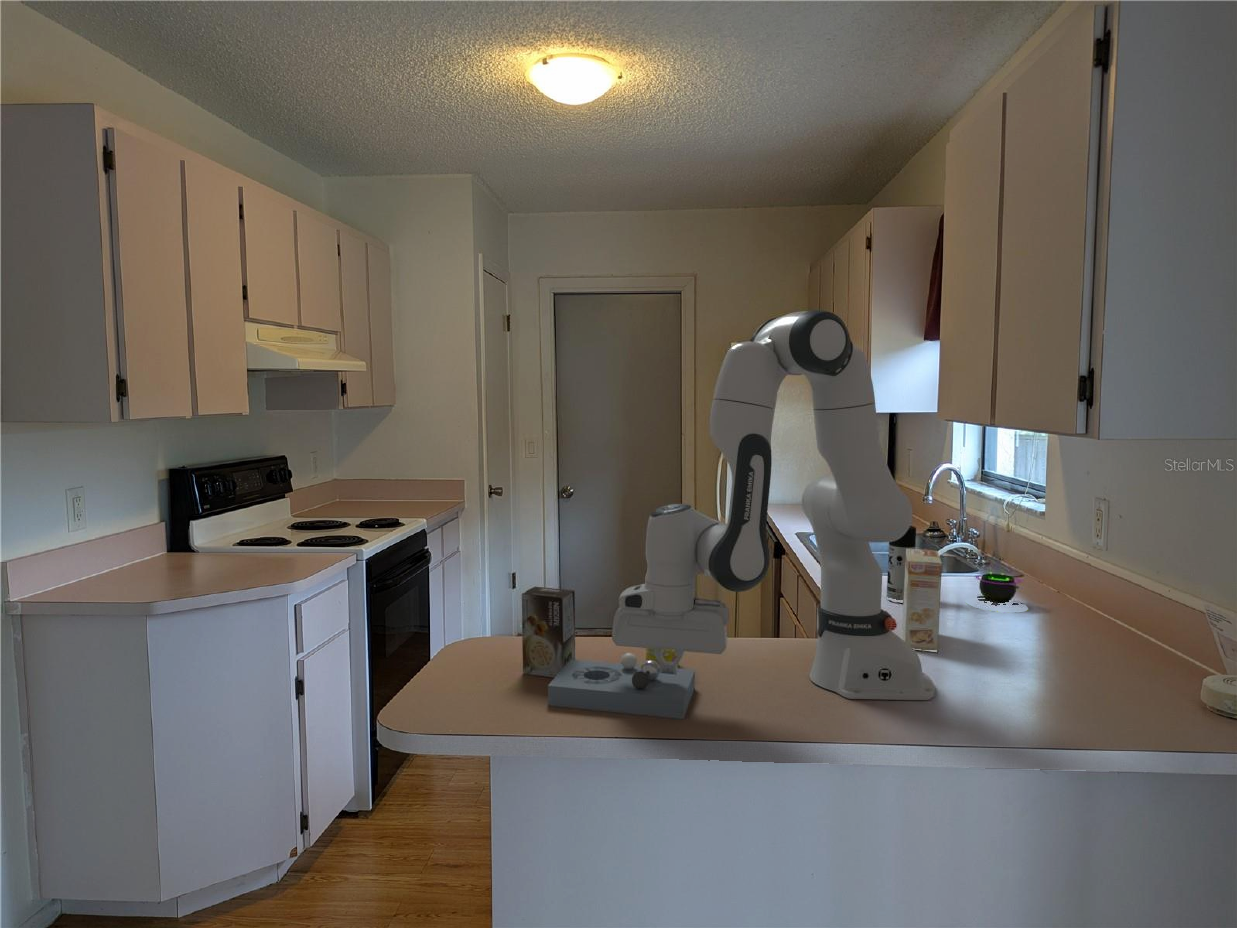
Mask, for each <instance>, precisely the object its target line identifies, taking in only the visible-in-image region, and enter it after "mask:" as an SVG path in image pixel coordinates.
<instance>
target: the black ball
mask: <svg viewBox="0 0 1237 928" xmlns="http://www.w3.org/2000/svg"><path fill="white" fill-rule="evenodd" d="M632 684H633V686H634V687H635V688H637V689H644V688H646V687H647V686H648V684H649V677H648V675H647V674H646V673H644V672H642V671H639V672H636V673H635V674H634V675H633V677H632Z"/></svg>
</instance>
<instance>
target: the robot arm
mask: <svg viewBox="0 0 1237 928" xmlns="http://www.w3.org/2000/svg"><path fill="white" fill-rule="evenodd" d="M803 375H804V377H805V378H806V379H807V381H808V383H809V385H810V389H811V393H812V395H811V396H812V397H811V398H812V408H813V420H814V421H813V422H814V429H815V438H816V447H817V449H818V452H819V455H820V456H821V457H822V458H823V459H824V460H825V462H826V463H827V465H828V467H829V470H830V472H831V474H832V475H831V474H830V475H825V476H820V477H816V478H814V479H813V480H811V481H810V482H809V483H808V484H806V487H805V488H804V489H803V492H802V495H801V509H802V510H803V513H804V514H805V516H806V517H807V519H808V521H809V524H810V526H811V528H812V531H813V535H814V538H815V542H816V548H817V551H818V555H819V557H818V558H819V562H820V565H819V566H820V603H819V604H818V606H817V612H816V613H817V614H816V633H817V635H818V637H817V644H816V650H815V655H814V660H813V662H812V666H811V669H810V673H809V679H810V681H812V682H813V684H815V685H817V686H819V687H821V688H823V689H826V690H829V691H832V692H834V693H837V694H839V695H840V696H842V697H844V698H846V699H850V700H851V699H852V700H893V701H894V700H895V701H896V700H897V701H901V700H902V701H930V700H932V699H933V698H934V696H935V694H936V691H935V690H936V688H935V683H934V681H933V680H932V678H931V677H930V676H928V674H926V673H925V672H923V667H922V663H921V660H920V657H919V655H918V653H917V652H916V650H914V649H913V648H912V647H911V646H910V645H908V644H907V643H906V642H905V641H903V638H901V637H900V636H898V635H897V634H896V633H895V632H894V631H895V630H896V629H897V627H898V625H897V623H898V622H897V621H896V619H895V618H894V617H892V615H891V614H890V613H889V612H888V611H887V610H886V609H885V610H883V609H882V594H883V593H882V592H883V591H882V590H883V589H882V588H883V571H882V568H881V566H880V563H879V562H878V560H877V559H876V558H875V556H874V553H873V551H872V548H871V546H870V543H879V544H880V543H882V544H883V543H889V542H893V541H896V540H898V539H900V538H901V537H902V536H903V535H904V534H905V533H906V532H907V531H908V529H909V527H910V526H912V525H911V524H912V521H913V517H914V516H913V515H914V513H913V506H912V503H911V500H910V499H909V497H908V496H907V495H906V494H905V493H904V491H902V490H901V489H900V487H899V486H898V484H897V482H896V481H895V479H894V477H893V475H892V473H891V470H890V468H889V466H888V463H887V461H886V458H885V455H884V453H883V449H882V446H881V440H880V434H879V425H878V424H879V423H878V417H877V415H878V414H877V409H876V408H877V407H876V398H875V391H874V390H875V389H874V385H873V384H874V383H873V380H872V374H871V370H870V366H869V363H868V360H867V357H866V355H865V353H864V351H863V350H861V349H860V348H859V347H856V346H854V344H853V342H852V340H851V337H850V332H849V330H848V328H847V325H846V324H845V321H843V319H842V318H841V317H839V316H838V315H837V314H835V313H834V312H831V311H828V310H823V309H811V310H807V311H806V310H805V311H794V312H790V313H788V314H785V315H783V316H779V317H773V318H771V319H769V320H767V321H764V322H763V323H762V324H761V325H759V326H758V328H757V329H756V330H755V331H754V333H753V335H752V337H750V339H749V341H742V342H739V343H736V344H734V345H733V346H731V347H730V348H729V349H728V351H727V352H726V354H725V357H724V359H723V361H722V364H721V366H720V370H719V373H718V376H717V379H716V383H715V388H714V392H713V397H712V401H711V406H710V407H711V408H710V414H709V416H710V417H709V434H710V437H711V440H712V442H713V443H714V445H715V446H716V447H717V449H718V450H719V451H720V452H721V453H722V455H723V456H724V458H725V460H726V461H727V463H728V466H729V469H730V472H731V490H730V499H729V500H730V501H729V509H728V515H727V516H728V518H727V523H726V522H723V521H720V520H717V519H715V518H711V517H710V516H708V515H705V514H703V513H701V512H699V511H698V510H697V509H695V508H694V507H693V506H692V505H690V504H688V503H671V504H666V505H662V506H659V507H657V508H656V509H654V510H653V511H652V512H651V513H650V515H649V518H648V521H647V527H646V533H645V534H646V537H645V559H646V563H647V571H646V574H645V576H644V577H645V578H644V582H645V583H641V584H638V585H637V584H636V585H633V586H630V587H628V588H626V589H625V590H623V591H622V592H621V594H620V595H619V598H618V605H619V607H618V609H617V610H616V611H615V613H614V617H613V621H612V622H613V623H612V630H611V631H612V633H611V640H612V642H613V643H614V644H615V646H617V647H629V648H630V647H631V648H640V649H646V648H651V649H654V656H655V657H656V659H657V661H658V663H659V664H660V673H664V674H675V675H676V674H677V668H679V664H678V663H680V662H681V660H682V658H683V656H684V655H685V654H684V653H685V652H687V653H688V652H690V653H702V654H712V655H713V654H714V655H721V654H723V653H724V652H725V651H726V649H727V646H728V636H727V635H728V634H727V624H728V623H729V621H730V609H729V607H728V605H727V604H726V603H724V602H722V601H721V600H720V599H707V598H697V597H696V578H697V575H703V574H704V575H706V576H709V577H711V579H713V580H714V581H716V582H717V583H718V584H719V585H720V586H721V587H723V588H724V589H726V590H727V591H730V592H735V593H741V592H747V591H750V590H751V589H753V588H755V587H756V586H757V585H759V584H760V583H761V581H763V579H764V578H765V577H766V575H767V572H768V570H769V567H770V563H771V562H770V561H771V554H770V548H769V545H768V540H767V539H768V537H767V522H768V521H767V520H768V519H767V518H768V509H769V499H770V490H771V489H770V488H771V477H772V464H773V463H772V461H773V459H772V458H773V457H772V432H773V424H774V418H775V411H776V405H777V400H778V392H779V389H780V387H781V384H782V383H783V381H784V379H785V378H786V377H787V376H803ZM663 650H675V656H677V658H676V659H675V661H674V662H669V661H665V660H664V658H663V656H662V653H663Z"/></svg>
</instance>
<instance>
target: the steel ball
mask: <svg viewBox="0 0 1237 928" xmlns="http://www.w3.org/2000/svg"><path fill="white" fill-rule="evenodd" d="M640 665H641V668H640V671H642V672H644V673H646V674H647V675H648V677H649V681H652V680H655V679H657V678H658V677H659V675H660V666H659V664H658V663H657V662H656V661H654V660H647V661H646V660H645V661H643V663H642V664H640Z"/></svg>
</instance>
